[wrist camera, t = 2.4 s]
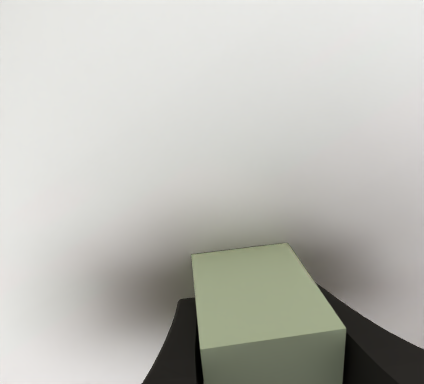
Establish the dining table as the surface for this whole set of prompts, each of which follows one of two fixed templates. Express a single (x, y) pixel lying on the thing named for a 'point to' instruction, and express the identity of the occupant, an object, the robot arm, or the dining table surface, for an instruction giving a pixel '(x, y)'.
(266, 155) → the dining table surface
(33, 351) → the dining table surface
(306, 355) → the sage block
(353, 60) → the dining table surface
